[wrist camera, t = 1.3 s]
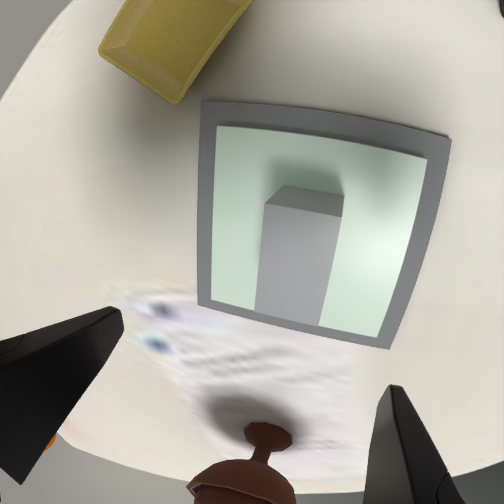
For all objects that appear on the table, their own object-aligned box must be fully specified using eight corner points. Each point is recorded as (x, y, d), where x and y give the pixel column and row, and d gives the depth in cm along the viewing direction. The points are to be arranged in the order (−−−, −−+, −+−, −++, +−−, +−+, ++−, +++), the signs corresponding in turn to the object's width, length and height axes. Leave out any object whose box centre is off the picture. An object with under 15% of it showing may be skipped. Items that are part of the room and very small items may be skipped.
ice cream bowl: (303, 466, 31) (269, 570, 18) (217, 440, 34) (166, 536, 21) (331, 426, 27) (296, 564, 14) (224, 394, 29) (155, 519, 16)
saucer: (173, -37, 14) (157, -46, 12) (268, 4, 15) (258, -7, 13) (113, 55, 19) (95, 53, 17) (192, 108, 19) (175, 108, 17)
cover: (424, 157, 15) (448, 171, 11) (376, 330, 20) (376, 379, 16) (222, 125, 18) (182, 130, 14) (215, 293, 23) (185, 332, 19)
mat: (449, 138, 14) (451, 139, 14) (388, 345, 21) (389, 349, 21) (205, 101, 18) (201, 101, 18) (200, 301, 25) (197, 305, 24)
